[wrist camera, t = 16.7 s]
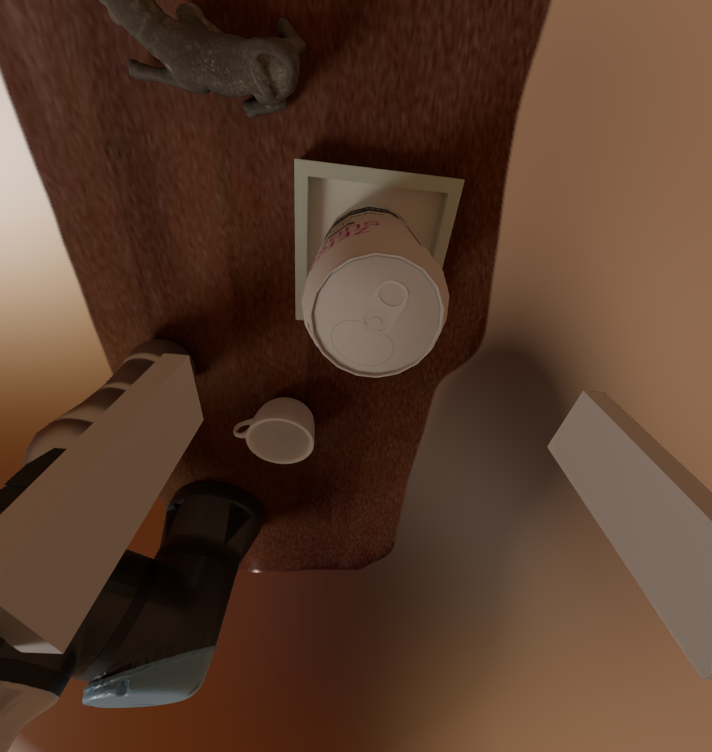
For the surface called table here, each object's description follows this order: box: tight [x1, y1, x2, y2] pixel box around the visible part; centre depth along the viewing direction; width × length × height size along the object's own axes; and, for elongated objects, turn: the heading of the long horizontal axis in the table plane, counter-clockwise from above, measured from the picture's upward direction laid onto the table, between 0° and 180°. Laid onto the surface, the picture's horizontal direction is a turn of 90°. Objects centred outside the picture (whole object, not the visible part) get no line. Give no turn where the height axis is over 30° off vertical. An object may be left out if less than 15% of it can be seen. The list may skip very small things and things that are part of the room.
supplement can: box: [302, 203, 449, 378], centre depth 23 cm, size 8×8×15 cm
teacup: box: [233, 397, 315, 464], centre depth 39 cm, size 10×8×5 cm
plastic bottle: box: [24, 339, 196, 466], centre depth 28 cm, size 6×7×20 cm
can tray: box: [294, 159, 465, 320], centre depth 28 cm, size 13×13×2 cm
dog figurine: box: [99, 0, 306, 118], centre depth 19 cm, size 12×6×7 cm, turn 77°
